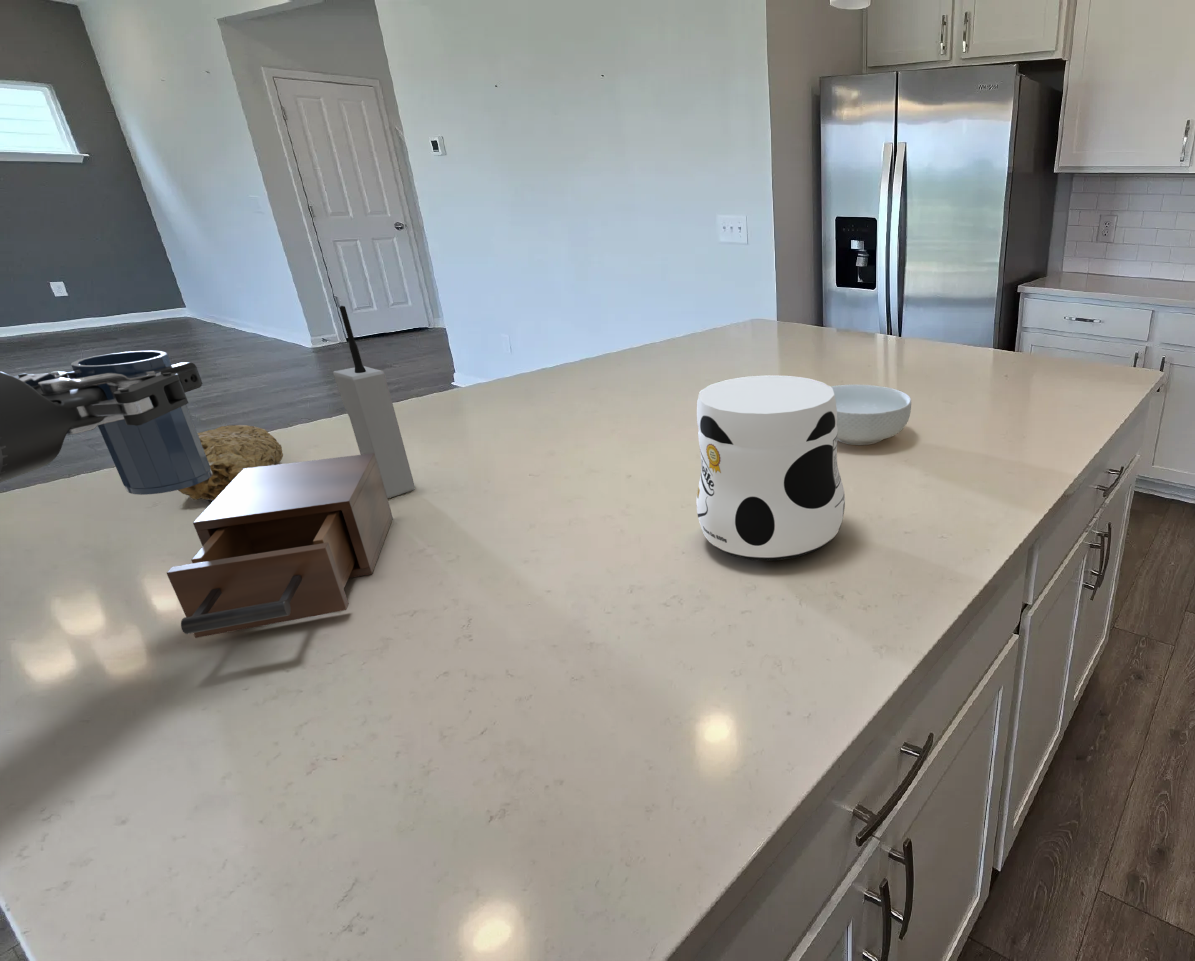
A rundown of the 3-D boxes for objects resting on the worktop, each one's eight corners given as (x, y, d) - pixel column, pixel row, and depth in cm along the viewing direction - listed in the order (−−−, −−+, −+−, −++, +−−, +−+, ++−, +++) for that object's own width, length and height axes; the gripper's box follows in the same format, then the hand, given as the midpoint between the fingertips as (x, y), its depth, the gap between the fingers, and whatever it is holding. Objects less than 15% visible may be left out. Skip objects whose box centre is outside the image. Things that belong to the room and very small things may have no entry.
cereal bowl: (904, 459, 108) (906, 415, 105) (799, 452, 110) (798, 409, 107) (913, 424, 123) (915, 385, 120) (821, 418, 125) (821, 380, 123)
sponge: (282, 503, 94) (305, 430, 109) (247, 457, 89) (275, 387, 104) (167, 535, 91) (206, 456, 105) (123, 489, 86) (171, 412, 100)
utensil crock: (113, 499, 58) (54, 369, 54) (144, 475, 63) (93, 353, 58) (198, 489, 60) (148, 362, 56) (222, 466, 65) (178, 348, 60)
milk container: (674, 532, 85) (658, 389, 78) (790, 494, 95) (786, 365, 88) (750, 591, 73) (740, 429, 66) (874, 542, 83) (877, 396, 76)
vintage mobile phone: (396, 482, 98) (345, 301, 88) (416, 489, 96) (366, 304, 86) (367, 491, 95) (312, 305, 85) (387, 499, 93) (332, 309, 83)
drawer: (332, 646, 63) (308, 580, 60) (166, 679, 58) (132, 610, 55) (371, 547, 79) (354, 491, 76) (244, 567, 75) (222, 509, 72)
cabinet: (372, 574, 76) (349, 501, 72) (224, 600, 71) (192, 522, 67) (393, 517, 88) (374, 452, 84) (268, 536, 83) (243, 468, 80)
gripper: (22, 383, 44) (229, 330, 59) (-228, 384, 43) (48, 330, 58) (74, 492, 46) (258, 415, 62) (-159, 496, 46) (87, 416, 61)
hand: (155, 374), depth 60 cm, fingers closed on utensil crock, 5 cm apart
